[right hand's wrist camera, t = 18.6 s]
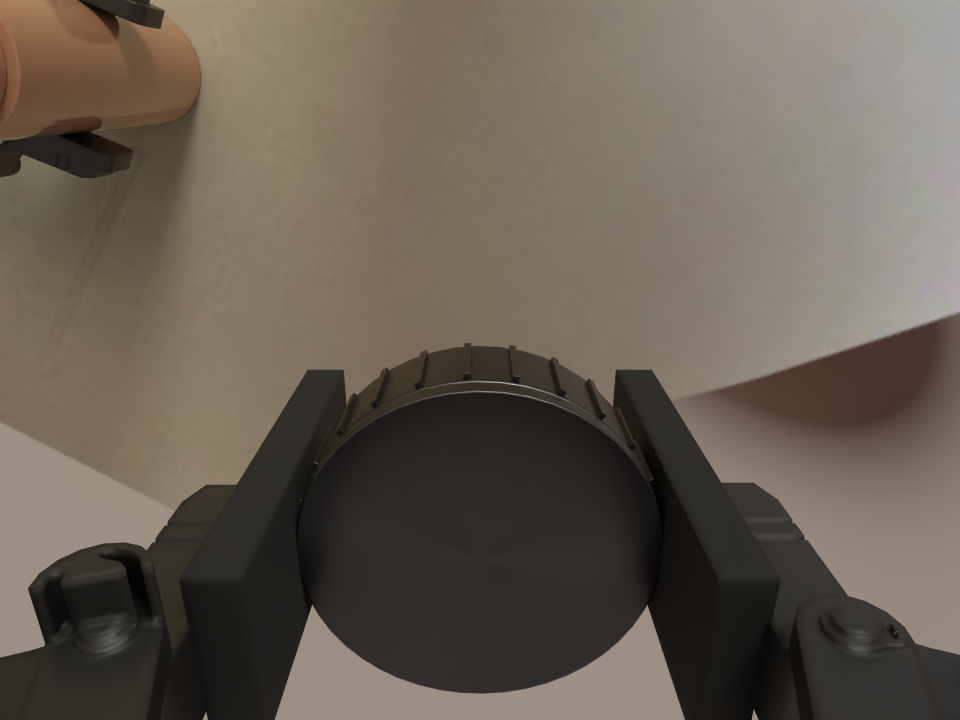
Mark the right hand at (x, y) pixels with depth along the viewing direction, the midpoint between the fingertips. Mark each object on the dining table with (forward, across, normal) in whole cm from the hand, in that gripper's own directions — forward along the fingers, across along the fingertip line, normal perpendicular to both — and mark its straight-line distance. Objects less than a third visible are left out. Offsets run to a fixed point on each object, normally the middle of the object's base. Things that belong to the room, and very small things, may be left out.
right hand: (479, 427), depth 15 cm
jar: (+22, +16, -8) cm, 28 cm away
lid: (-4, 0, 0) cm, 4 cm away
